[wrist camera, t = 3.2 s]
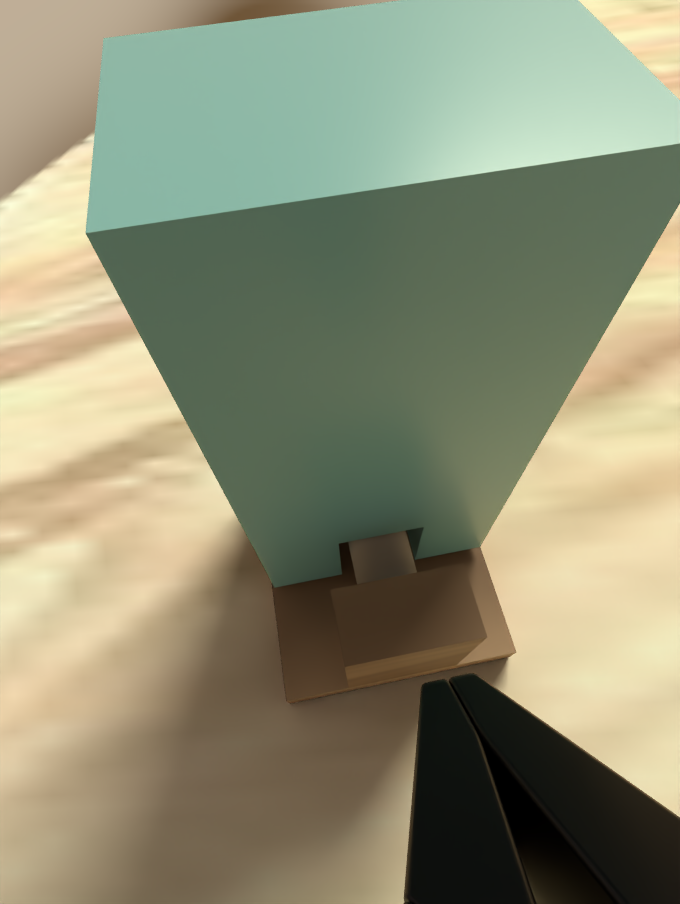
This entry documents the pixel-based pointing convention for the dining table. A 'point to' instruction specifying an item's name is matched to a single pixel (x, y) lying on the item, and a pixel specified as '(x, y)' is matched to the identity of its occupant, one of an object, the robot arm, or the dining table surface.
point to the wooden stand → (387, 618)
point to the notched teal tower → (377, 249)
